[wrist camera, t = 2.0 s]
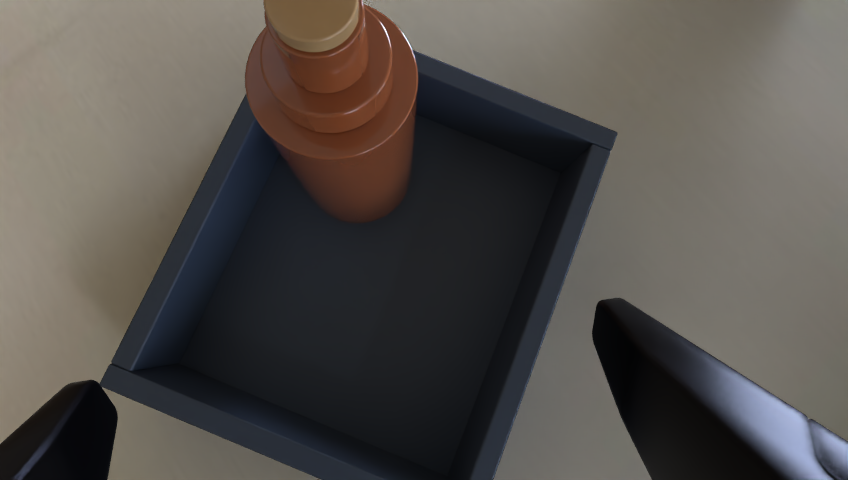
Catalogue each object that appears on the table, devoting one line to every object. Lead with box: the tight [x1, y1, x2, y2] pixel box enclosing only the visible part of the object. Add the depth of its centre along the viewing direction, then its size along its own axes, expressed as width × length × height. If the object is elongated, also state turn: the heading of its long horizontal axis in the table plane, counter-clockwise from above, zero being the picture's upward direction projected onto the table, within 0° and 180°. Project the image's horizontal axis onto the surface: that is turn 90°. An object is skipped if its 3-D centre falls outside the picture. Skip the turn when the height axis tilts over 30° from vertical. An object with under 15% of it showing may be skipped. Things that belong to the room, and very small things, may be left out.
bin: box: [100, 50, 617, 480], centre depth 21 cm, size 16×14×4 cm
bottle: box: [245, 0, 418, 223], centre depth 17 cm, size 5×5×12 cm
